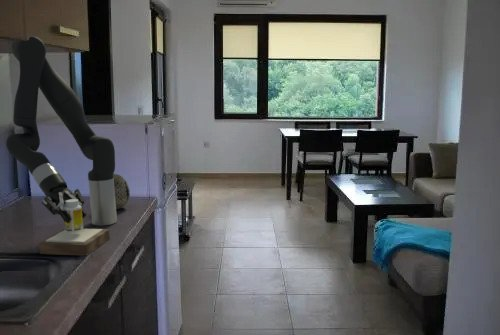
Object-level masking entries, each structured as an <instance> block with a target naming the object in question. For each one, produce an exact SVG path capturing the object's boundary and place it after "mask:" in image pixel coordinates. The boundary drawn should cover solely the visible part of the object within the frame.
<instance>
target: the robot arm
mask: <svg viewBox="0 0 500 335" xmlns="http://www.w3.org/2000/svg"><path fill="white" fill-rule="evenodd" d="M30 36H31V37H30V38H29V40H28V41H16V42H13V41H12V43H11V50H12V53H13V54H12V55H13V56H14V57H15V59H16V60H17V61H18V62H19V80H18V85H17V89H16V93H15V97H14V103H13V118H12V119H13V120H12V121H13V122H12V123H13V124H14V125H15V126H16V127H20V128H22V130H23V132H22V133H12V134H10V135H9V136H8V137H7V138H6V141H5V145H6V149H7V151H8V152H9V154H11V156H12V157H13V158H14V159H16V160H17V161H18V162H19V163H21V164H22V165H24V166H25V167H26V169H27V170H28V171H29V172H30V174H31V176H32V177H33V179H34V181H35V183H36V184H37V186H38V187H39V188H40V190H41V192H43V194H44V195H45V197H44V198H43V199H42V201H41V204H42V206H44V207H45V208H46V209H47V210H48V211H49V212H50V214H52V215H53V216H55V215H58V216H60V217H61V218H62V220H63V221H64V223H65V222H66V223H70V221H71V220H72V219H71V217H70V216H69V214H68V213H67V211H66V210H65V209H64V207H65V205H66V200H70V199H77V200H78V202H79V205H80V206H81V207H82V218H83V219H85V218H86V217H87V214H88V213H87V211H86V209H85V208H84V207H83V205H84V204H85V203H86V200H85V198H84V197H83V195H82V193H81V192H80V189H78V188H76V189H75V190H71V189H70V188H68V184H67V182H66V180H65V179H64V178H63V177H62V175H61V173H60V172H59V171H58V170H57V168H55V166H54V165H53V164H52V163H51V161H50V160H49V159H48V157H47V156H46V155H45V154H44V153H43V152H41V151H38V150H39V148H40V145H41V139H40V133H39V129H38V125H37V115H38V114H37V113H38V98H39V89H40V91H41V93H42V94H43V97H44V98H45V99H46V101H47V102H48V104H49V105H50V106H51V108H52V109H53V111H54V113H56V115H57V117H59V119H60V120H61V122H62V123H63V125H65V127H66V128H67V129H68V131H69V132H70V134H71V135H72V137H73V139H74V141H75V142H76V144H77V145H78V147H79V149H80V151H81V152H82V154H83V156H84V157H85V158H86V159H88V160H89V161H90V160H91V161H92V169H91V170H90V171H88V172H87V179H88V190H89V202H90V204H89V205H90V215H91V224H92V225H93V226H101V227H102V226H109V225H113V224H115V223H116V222H118V221H117V218H118V217H117V215H118V214H117V209H116V201H115V189H114V175H113V174H115V170H116V150H115V146H114V143H113V141H112V140H111V139H110V138H109V137H106V136H98V135H97V134H96V133H95V132H94V131H93V129H92V128H91V127H90V125H89V124H88V122H87V119H86V115H85V110H84V107H83V103H82V102H81V100H80V99H79V97H78V96H77V94H76V93H75V92H74V89H73V88H72V87H71V86H70V85H69V84H68V83H67V82H66V80H64V78H63V77H61V75H59V73H58V72H57V71H56V70H55V69H54V68H53V66H52V65H51V64H50V62H49V60H48V59H47V57H46V54H47V48H46V45H45V43H44V41H43V40H42V39H41V38H40V37H37V36H35V35H30ZM64 210H65V211H64Z"/></svg>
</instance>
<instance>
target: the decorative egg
mask: <svg viewBox="0 0 500 335" xmlns="http://www.w3.org/2000/svg"><path fill="white" fill-rule="evenodd" d="M113 175H114V189H115V201H116V210H120V209H123V208H124V207H125V206H127V204H128V202H129V200H130V196H131V194H130V192H131V191H130V186H129V184H128V181H127V180H126V179H125V178H124V177H123V176H122V175H120V174H118V173H117V174H116V173H114V174H113Z"/></svg>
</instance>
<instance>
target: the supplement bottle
mask: <svg viewBox="0 0 500 335" xmlns="http://www.w3.org/2000/svg"><path fill="white" fill-rule="evenodd" d="M82 207H83V206H82ZM82 207H81V206H80V205H79V202H78V200H77V199H70V200H66V204H65V205H64V209H65V210H66V211H67V213H68V214H69V216H70V217H71V219H72V220H71V221H70V223H66V222H65V221H64V229H66V232H69V233H75V232H80V231H82V230H83V229H84V220H83V219H84V218H82ZM65 210H64V211H65Z"/></svg>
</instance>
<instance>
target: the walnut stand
mask: <svg viewBox="0 0 500 335" xmlns="http://www.w3.org/2000/svg"><path fill="white" fill-rule="evenodd" d="M110 237H111V236H110V229H109V228H108V229H106V228H83V230H82V231H80V232H75V233H69V232H66V229H65V228H63V229H61V230H60V231H59V232H56V233H55V234H53V235H51V236H49V237H47V238H46V239H44V240H42V241H41V242H39V243H38V245H39V247H38V248H39V255H40V254H41V255H59V256H60V255H61V256H62V255H63V256H65V255H66V256H84V255H87V254H89V253H90V254H92V253H93V252H94V251H95V250H97V249H99V248H100V247H101V246H103V245H104V244H105V243H107V242H108V241H109V240H110ZM90 254H89V255H90ZM87 256H88V255H87Z"/></svg>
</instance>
